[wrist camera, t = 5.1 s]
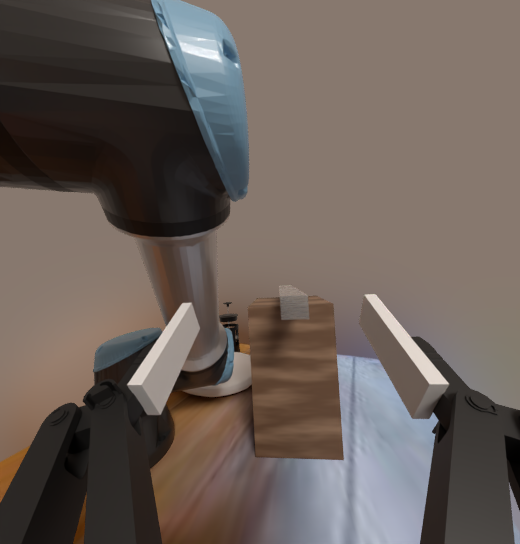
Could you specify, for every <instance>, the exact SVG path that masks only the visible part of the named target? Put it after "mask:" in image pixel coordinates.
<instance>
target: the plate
mask: <svg viewBox="0 0 520 544" xmlns="http://www.w3.org/2000/svg"><path fill="white" fill-rule="evenodd" d="M233 363H234V367H233V373H232V376H231V378H230V379H229V380H228V381H227V382H225V383H221V384H218V385H216V386H212V385H211V386H205V387H200V388H194V389H188V390H182V391H184V392H187V393H189V394H193V395H198V396H205V397H219V396H226V395H230V394H234V393H237V392H240V391H242V390H245V389H247V388H248V387H249V386H250V385H252V378H251V358H250V355H248V354H244V353H239V352H234V360H233Z"/></svg>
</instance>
